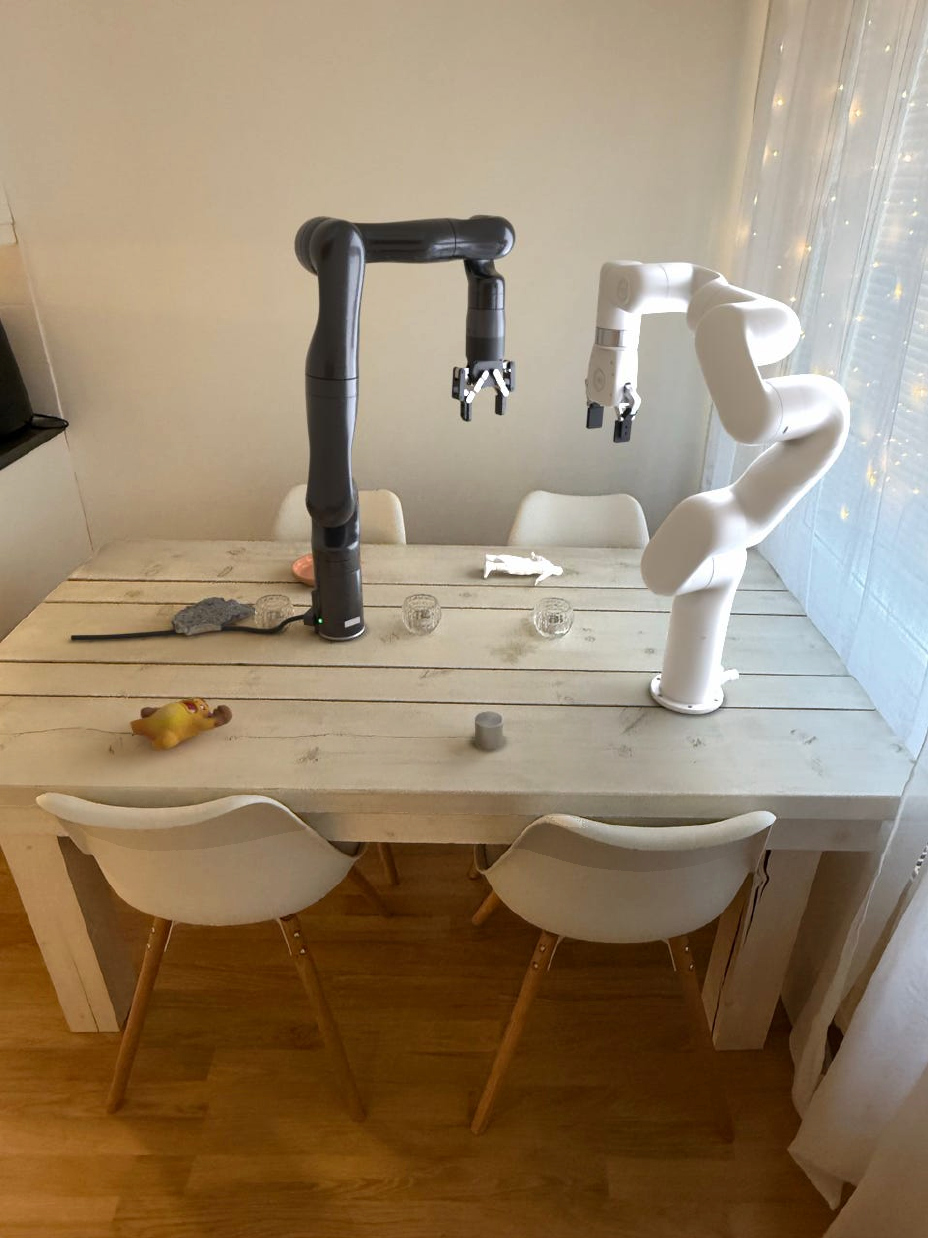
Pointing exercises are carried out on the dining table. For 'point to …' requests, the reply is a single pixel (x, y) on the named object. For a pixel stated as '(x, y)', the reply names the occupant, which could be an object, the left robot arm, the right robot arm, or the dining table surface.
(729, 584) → the right robot arm
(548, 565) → the figurine
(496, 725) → the can
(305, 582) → the saucer
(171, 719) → the toy
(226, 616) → the stone slab
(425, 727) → the dining table surface
